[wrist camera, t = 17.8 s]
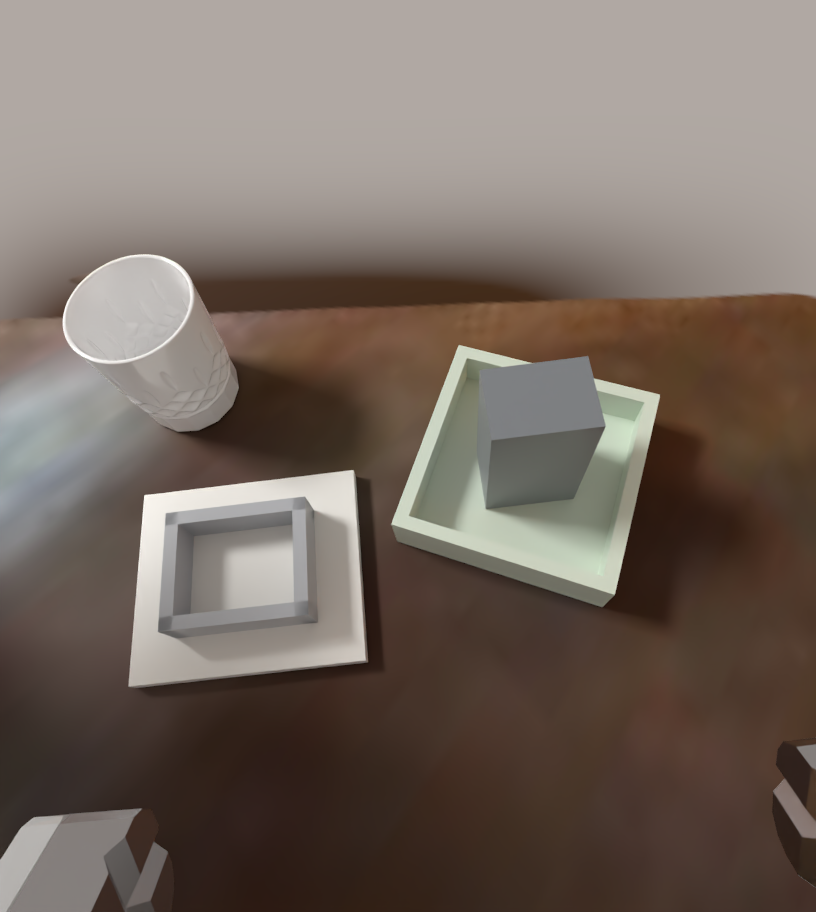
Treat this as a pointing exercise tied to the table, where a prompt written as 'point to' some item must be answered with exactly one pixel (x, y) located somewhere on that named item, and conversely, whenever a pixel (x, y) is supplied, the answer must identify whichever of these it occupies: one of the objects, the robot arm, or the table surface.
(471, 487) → the sage tray
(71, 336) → the white cup
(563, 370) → the gray rectangular block
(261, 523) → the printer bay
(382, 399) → the table surface
